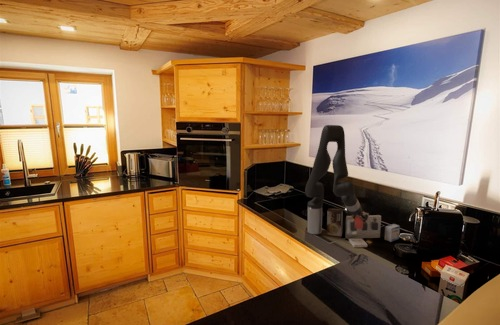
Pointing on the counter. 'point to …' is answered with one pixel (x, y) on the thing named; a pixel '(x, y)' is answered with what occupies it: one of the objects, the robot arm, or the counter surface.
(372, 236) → the breaker panel
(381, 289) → the counter surface
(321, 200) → the robot arm
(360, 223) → the cap
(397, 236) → the medicine box
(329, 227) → the coffee box
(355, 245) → the lockout socket
